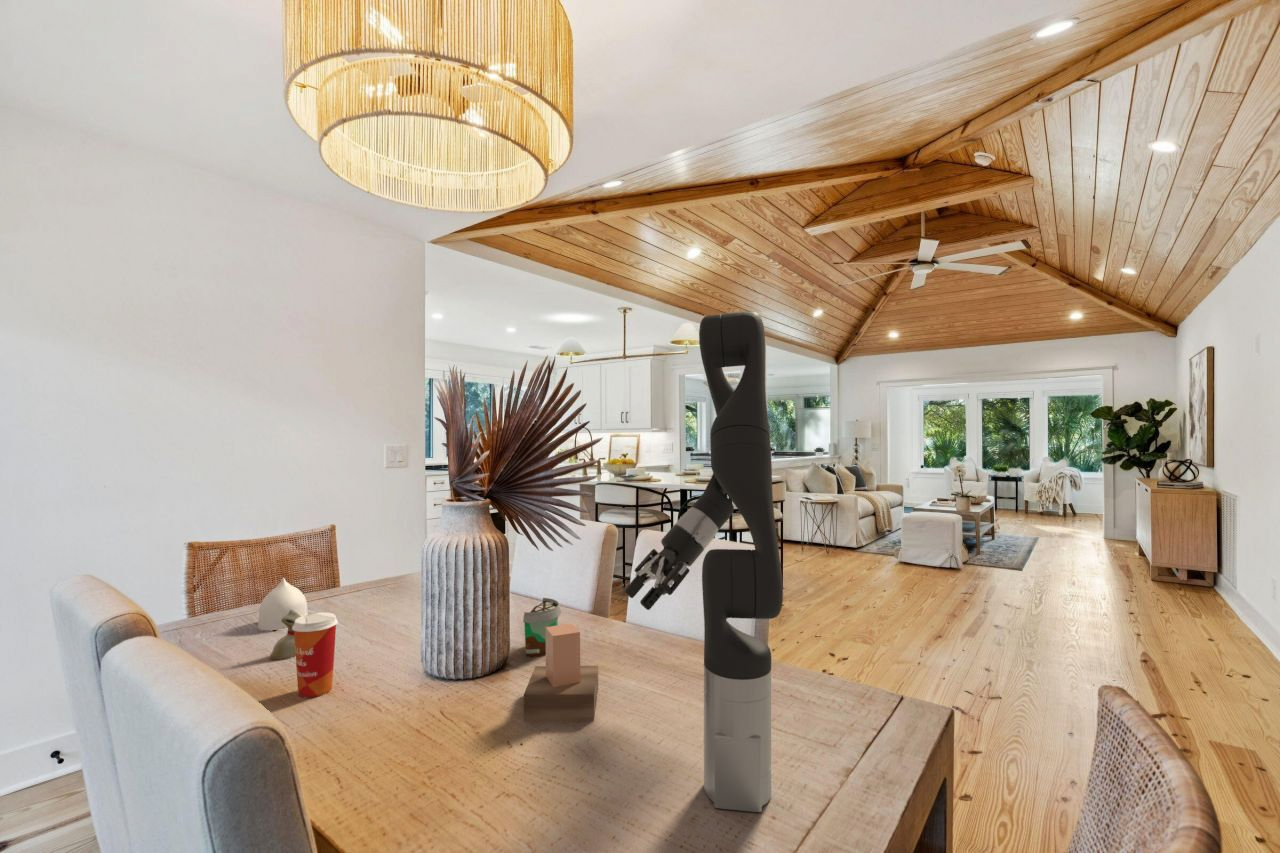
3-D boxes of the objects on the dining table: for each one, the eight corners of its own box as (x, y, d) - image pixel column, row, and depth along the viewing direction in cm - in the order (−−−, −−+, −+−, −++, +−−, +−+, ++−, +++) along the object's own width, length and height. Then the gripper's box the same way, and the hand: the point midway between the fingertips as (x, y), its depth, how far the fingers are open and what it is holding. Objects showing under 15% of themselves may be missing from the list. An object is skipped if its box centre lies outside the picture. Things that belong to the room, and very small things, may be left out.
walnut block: (594, 723, 102) (593, 694, 102) (523, 723, 102) (523, 694, 102) (598, 692, 114) (598, 665, 114) (535, 692, 114) (535, 666, 114)
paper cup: (286, 691, 113) (286, 618, 113) (329, 679, 119) (329, 609, 119) (300, 705, 108) (300, 627, 108) (344, 691, 113) (344, 617, 113)
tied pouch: (310, 656, 131) (310, 610, 131) (268, 661, 128) (268, 614, 128) (313, 647, 136) (313, 603, 136) (273, 652, 133) (273, 607, 133)
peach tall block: (580, 682, 107) (580, 631, 106) (553, 687, 105) (552, 636, 104) (572, 671, 111) (571, 623, 111) (545, 676, 109) (545, 627, 109)
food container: (550, 661, 128) (550, 614, 128) (523, 659, 129) (523, 613, 129) (568, 641, 140) (568, 598, 140) (543, 639, 141) (543, 596, 141)
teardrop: (292, 631, 147) (291, 582, 147) (247, 631, 147) (247, 582, 147) (316, 617, 158) (316, 571, 158) (275, 616, 158) (275, 571, 158)
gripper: (663, 518, 123) (610, 579, 118) (694, 528, 109) (635, 597, 105) (686, 542, 124) (635, 603, 120) (719, 555, 111) (663, 624, 107)
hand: (635, 600), depth 113 cm, fingers open, 8 cm apart
